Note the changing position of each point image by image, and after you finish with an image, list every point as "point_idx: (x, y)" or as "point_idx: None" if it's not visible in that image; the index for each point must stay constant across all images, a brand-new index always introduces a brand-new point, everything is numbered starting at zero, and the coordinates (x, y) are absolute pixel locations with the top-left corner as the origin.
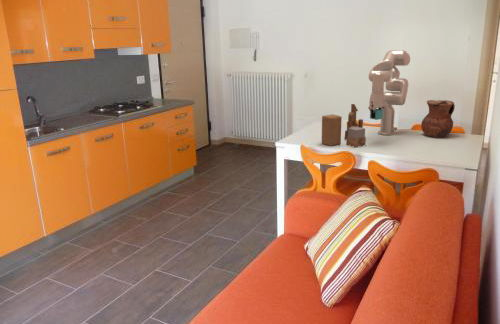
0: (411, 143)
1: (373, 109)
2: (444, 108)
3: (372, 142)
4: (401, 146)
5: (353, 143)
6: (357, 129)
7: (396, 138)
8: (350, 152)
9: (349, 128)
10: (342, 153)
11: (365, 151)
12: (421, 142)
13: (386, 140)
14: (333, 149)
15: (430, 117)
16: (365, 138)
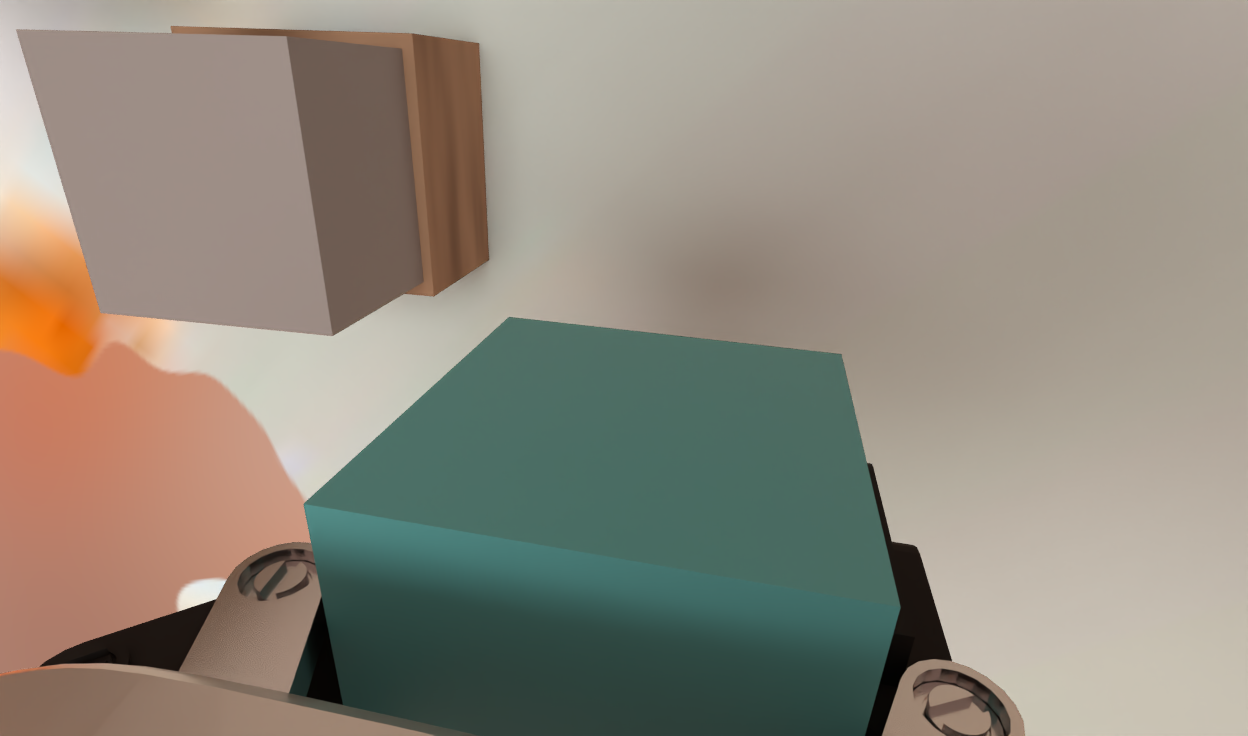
0: (1038, 618)
1: (528, 586)
2: None
3: (700, 222)
4: None
5: None
6: (145, 279)
7: (1244, 332)
8: (140, 345)
9: (34, 75)
10: (45, 310)
11: (305, 433)
12: (1184, 680)
13: (980, 296)
14: (11, 104)
15: None
16: (438, 289)
